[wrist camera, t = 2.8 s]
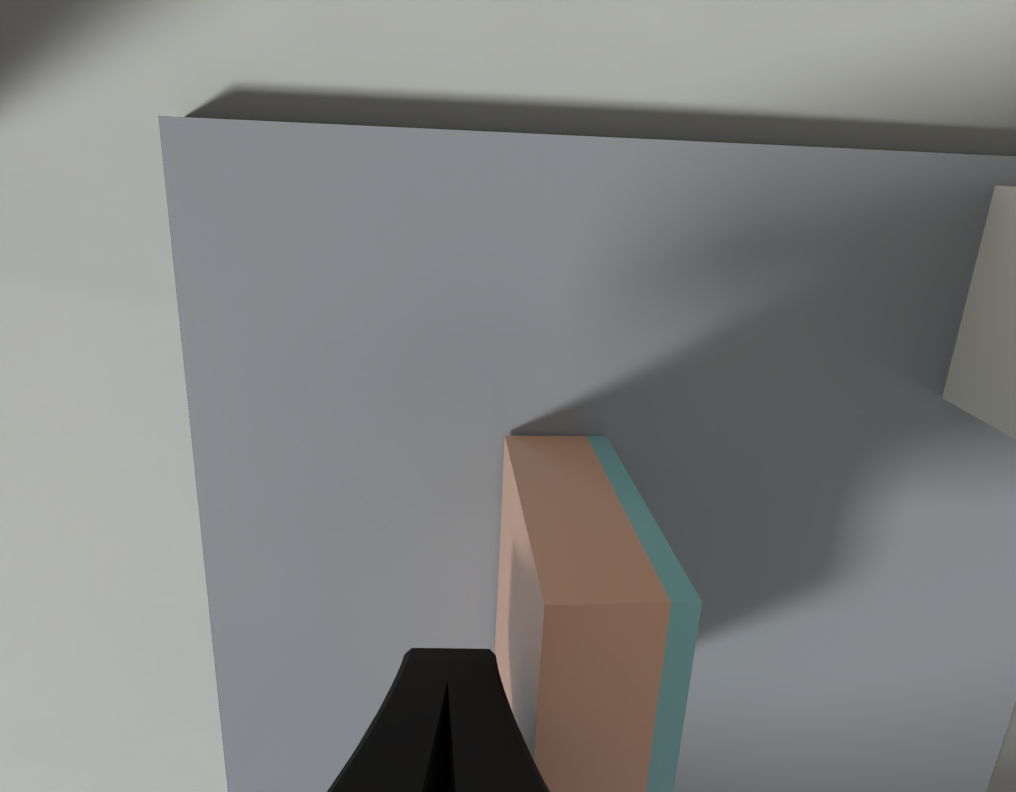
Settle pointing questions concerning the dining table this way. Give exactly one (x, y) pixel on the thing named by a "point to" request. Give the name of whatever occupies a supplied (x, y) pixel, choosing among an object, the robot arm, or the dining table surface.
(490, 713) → the robot arm
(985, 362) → the cream tile
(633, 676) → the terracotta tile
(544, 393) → the slate board
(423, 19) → the dining table surface
